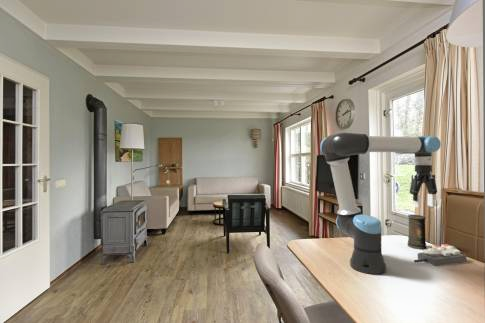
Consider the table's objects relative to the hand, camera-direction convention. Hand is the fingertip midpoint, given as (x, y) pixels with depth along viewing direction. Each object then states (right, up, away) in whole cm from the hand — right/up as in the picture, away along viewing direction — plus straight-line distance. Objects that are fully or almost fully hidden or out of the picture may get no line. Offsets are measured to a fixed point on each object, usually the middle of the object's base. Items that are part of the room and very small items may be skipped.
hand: (423, 206), depth 134 cm
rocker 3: (+8, -22, -7) cm, 24 cm away
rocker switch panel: (-1, -25, -10) cm, 27 cm away
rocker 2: (+2, -22, -9) cm, 24 cm away
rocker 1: (-3, -22, -11) cm, 25 cm away
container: (+4, -26, +11) cm, 28 cm away
